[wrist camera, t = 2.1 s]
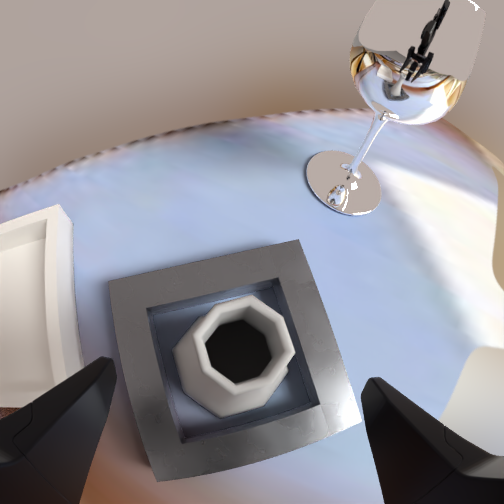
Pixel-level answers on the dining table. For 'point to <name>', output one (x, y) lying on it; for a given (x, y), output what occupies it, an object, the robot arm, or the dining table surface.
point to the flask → (234, 356)
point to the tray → (37, 306)
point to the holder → (209, 290)
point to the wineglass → (399, 85)
